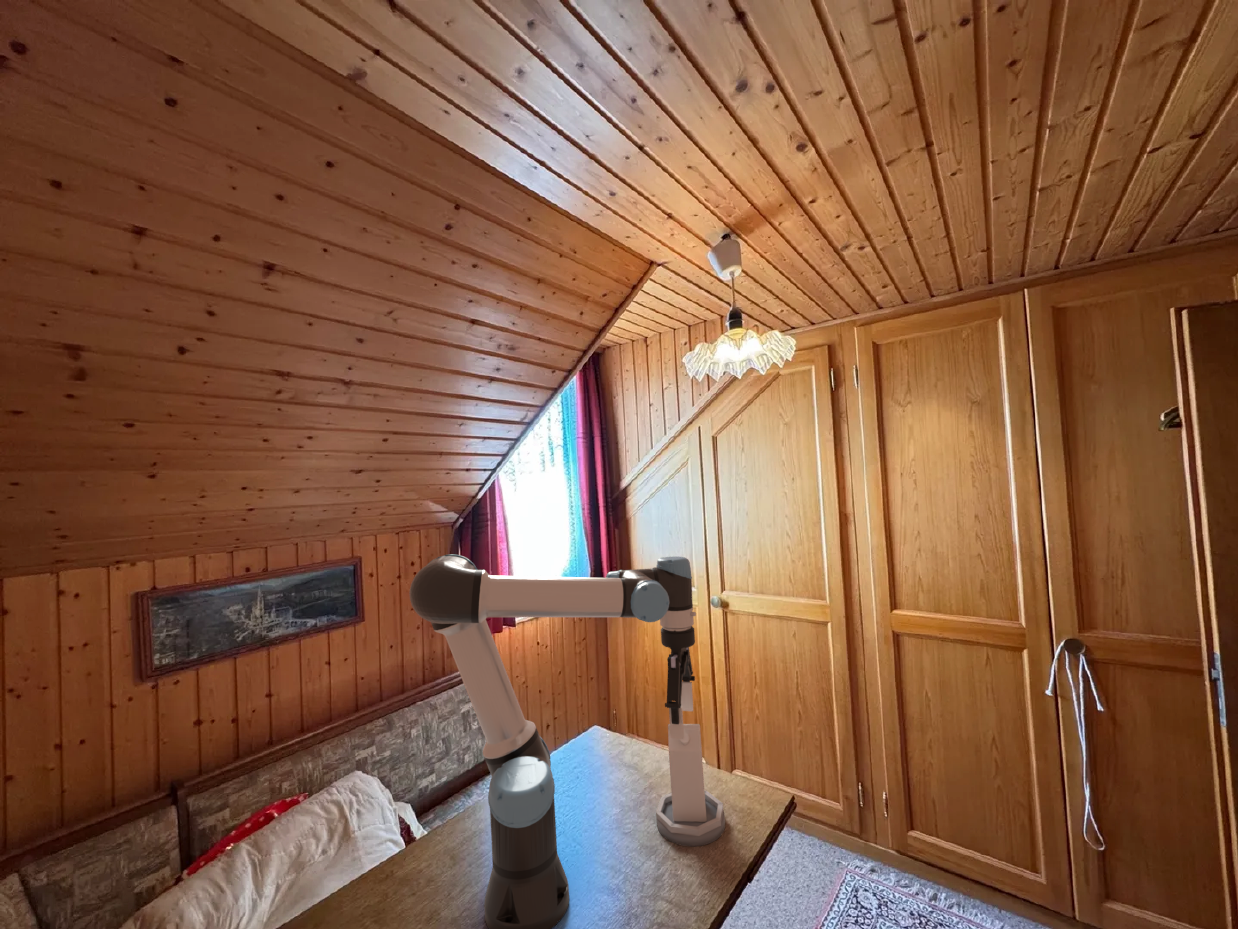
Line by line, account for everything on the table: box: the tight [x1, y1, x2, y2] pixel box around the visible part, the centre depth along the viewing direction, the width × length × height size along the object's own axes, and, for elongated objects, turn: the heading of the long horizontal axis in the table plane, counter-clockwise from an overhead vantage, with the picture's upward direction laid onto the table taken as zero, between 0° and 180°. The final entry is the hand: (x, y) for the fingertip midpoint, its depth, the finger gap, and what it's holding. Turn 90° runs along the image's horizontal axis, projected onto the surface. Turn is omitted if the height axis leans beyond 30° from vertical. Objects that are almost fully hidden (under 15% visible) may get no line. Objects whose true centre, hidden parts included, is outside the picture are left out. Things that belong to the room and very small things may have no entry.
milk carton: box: [667, 723, 706, 822], centre depth 114 cm, size 7×7×19 cm
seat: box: [655, 790, 726, 847], centre depth 113 cm, size 15×15×3 cm
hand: (682, 723), depth 114 cm, fingers open, 13 cm apart
